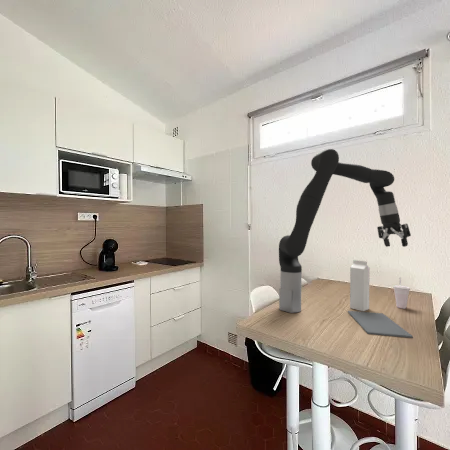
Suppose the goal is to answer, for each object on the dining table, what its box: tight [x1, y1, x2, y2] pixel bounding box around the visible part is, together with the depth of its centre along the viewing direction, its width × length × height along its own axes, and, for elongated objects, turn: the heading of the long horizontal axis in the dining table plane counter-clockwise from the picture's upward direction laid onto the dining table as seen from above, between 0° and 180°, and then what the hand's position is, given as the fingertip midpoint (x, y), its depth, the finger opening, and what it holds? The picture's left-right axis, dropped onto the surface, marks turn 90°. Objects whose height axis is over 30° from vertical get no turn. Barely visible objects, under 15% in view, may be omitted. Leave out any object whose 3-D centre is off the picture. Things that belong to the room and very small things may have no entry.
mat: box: [347, 310, 414, 339], centre depth 93 cm, size 22×14×1 cm, turn 169°
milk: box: [349, 259, 371, 312], centre depth 110 cm, size 6×6×22 cm
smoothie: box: [392, 276, 411, 310], centre depth 113 cm, size 6×6×14 cm
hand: (396, 246), depth 115 cm, fingers open, 8 cm apart
